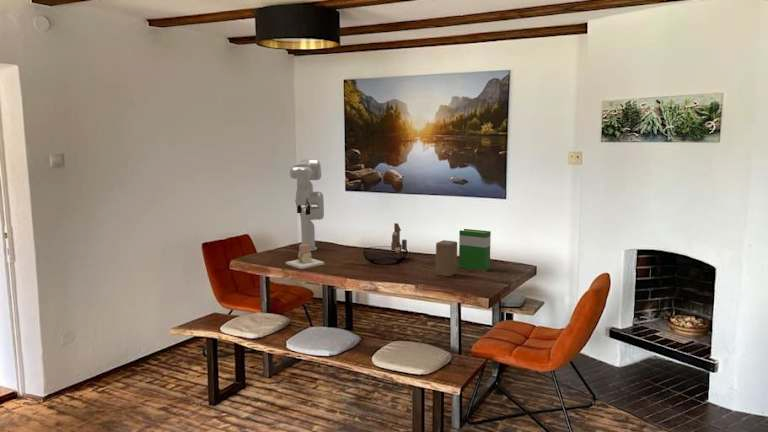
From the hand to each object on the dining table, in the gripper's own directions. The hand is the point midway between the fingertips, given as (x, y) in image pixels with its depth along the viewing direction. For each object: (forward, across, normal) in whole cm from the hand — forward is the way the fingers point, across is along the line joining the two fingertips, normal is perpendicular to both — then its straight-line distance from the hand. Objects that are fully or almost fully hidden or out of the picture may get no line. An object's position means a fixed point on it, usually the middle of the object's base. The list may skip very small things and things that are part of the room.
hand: (303, 213), depth 361 cm
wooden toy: (+34, +33, +53) cm, 71 cm away
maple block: (+32, 0, 0) cm, 32 cm away
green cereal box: (+34, +83, +71) cm, 114 cm away
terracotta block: (+26, 0, 0) cm, 26 cm away
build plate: (+33, 0, 0) cm, 33 cm away
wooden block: (+34, +81, +47) cm, 99 cm away
